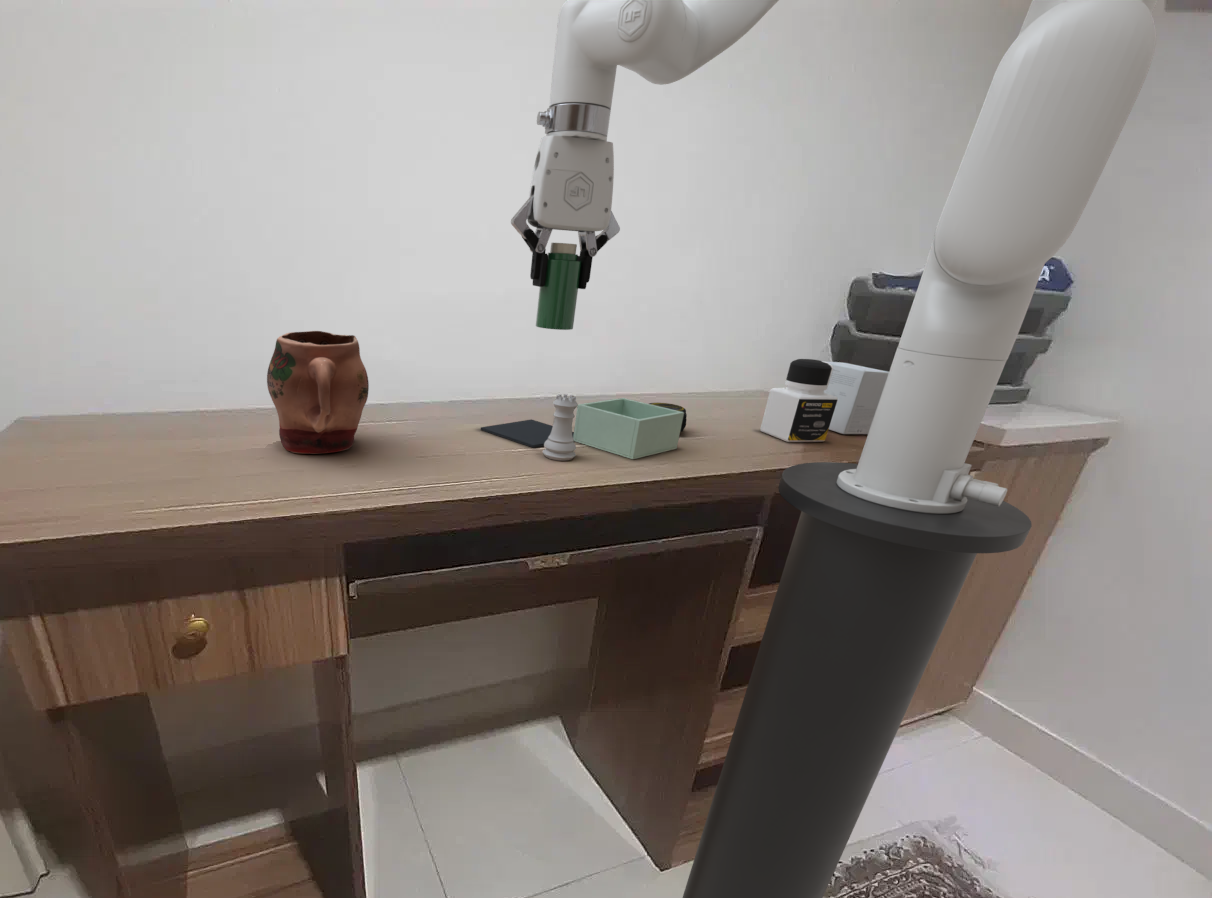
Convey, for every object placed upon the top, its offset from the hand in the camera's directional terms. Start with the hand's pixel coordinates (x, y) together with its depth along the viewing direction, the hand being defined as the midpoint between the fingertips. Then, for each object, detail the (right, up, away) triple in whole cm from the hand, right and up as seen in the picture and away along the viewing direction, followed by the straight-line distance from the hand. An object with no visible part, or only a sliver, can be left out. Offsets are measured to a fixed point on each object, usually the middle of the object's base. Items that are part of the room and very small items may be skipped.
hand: (559, 285), depth 87 cm
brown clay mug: (-31, -23, -4) cm, 39 cm away
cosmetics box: (+52, -14, +26) cm, 60 cm away
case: (+11, -20, +7) cm, 24 cm away
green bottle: (0, -5, +2) cm, 5 cm away
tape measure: (+19, -17, +16) cm, 30 cm away
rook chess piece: (0, -24, -1) cm, 24 cm away
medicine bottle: (+40, -17, +18) cm, 47 cm away
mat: (-3, -18, +9) cm, 21 cm away
